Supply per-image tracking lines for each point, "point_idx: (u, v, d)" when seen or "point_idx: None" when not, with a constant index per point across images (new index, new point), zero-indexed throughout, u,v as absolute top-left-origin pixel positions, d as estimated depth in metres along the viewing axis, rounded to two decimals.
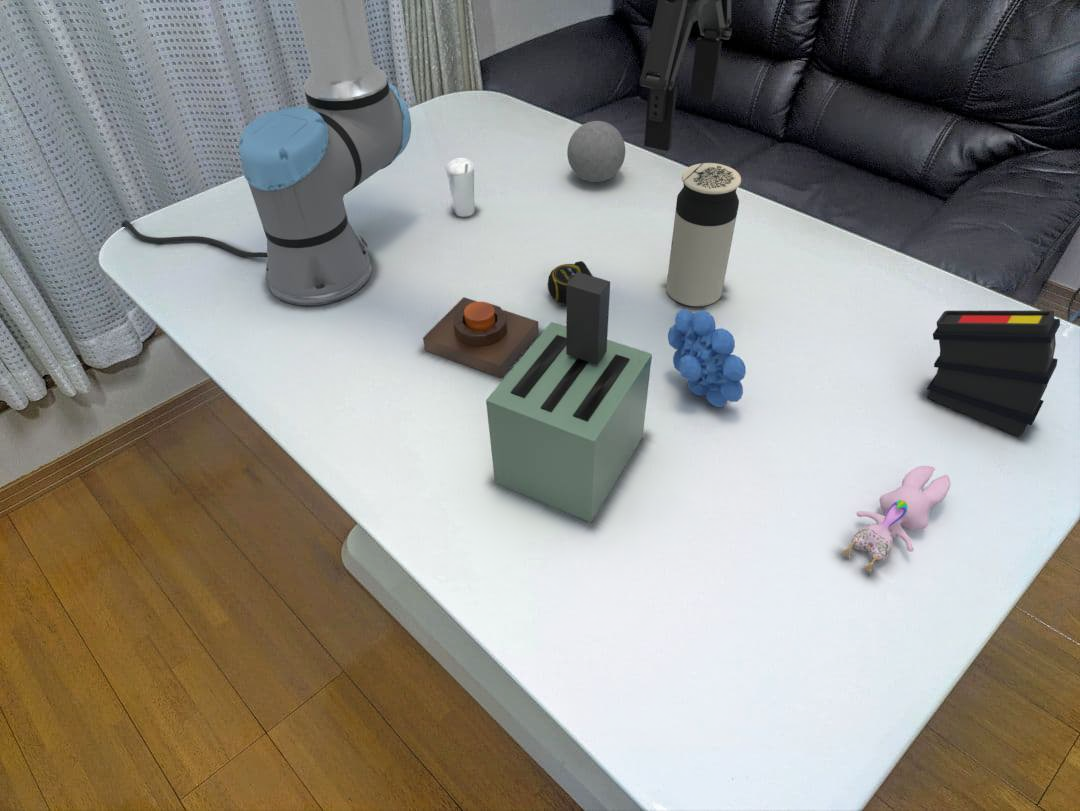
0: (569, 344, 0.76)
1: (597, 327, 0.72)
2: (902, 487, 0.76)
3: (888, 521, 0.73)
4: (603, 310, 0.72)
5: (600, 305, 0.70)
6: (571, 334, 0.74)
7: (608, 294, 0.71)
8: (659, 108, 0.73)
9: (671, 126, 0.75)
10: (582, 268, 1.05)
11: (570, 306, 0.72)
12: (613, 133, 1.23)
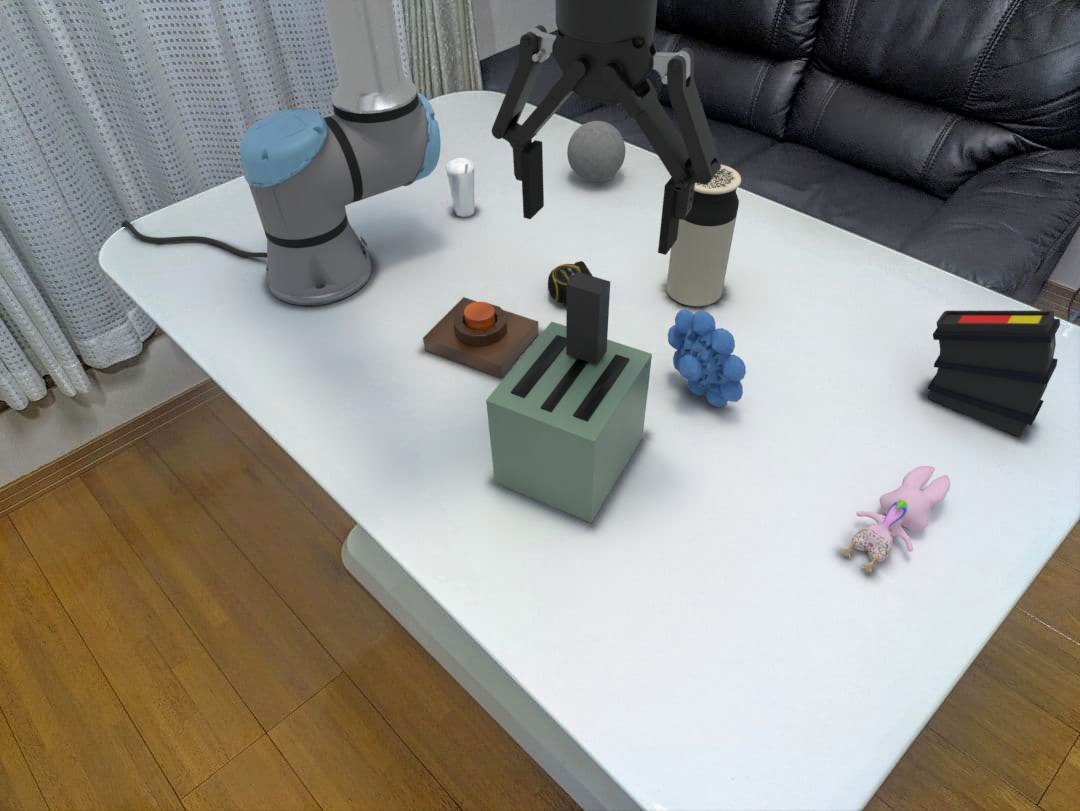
0: (569, 344, 0.76)
1: (597, 327, 0.72)
2: (902, 487, 0.76)
3: (888, 521, 0.73)
4: (603, 310, 0.72)
5: (600, 305, 0.70)
6: (571, 334, 0.74)
7: (608, 294, 0.71)
8: None
9: (524, 193, 0.68)
10: (582, 268, 1.05)
11: (570, 306, 0.72)
12: (613, 133, 1.23)
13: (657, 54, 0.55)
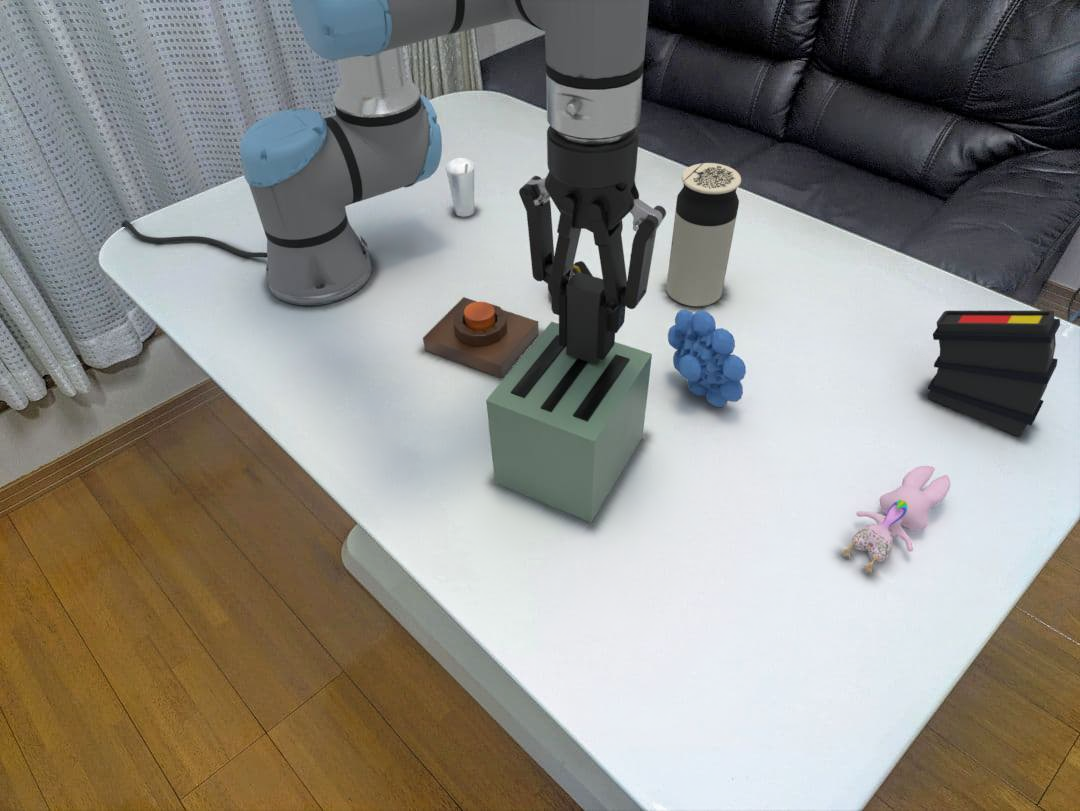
0: (569, 344, 0.76)
1: (597, 327, 0.72)
2: (902, 487, 0.76)
3: (888, 521, 0.73)
4: None
5: None
6: (571, 334, 0.74)
7: None
8: None
9: (561, 326, 0.74)
10: (582, 268, 1.05)
11: (570, 306, 0.72)
12: None
13: (638, 203, 0.62)
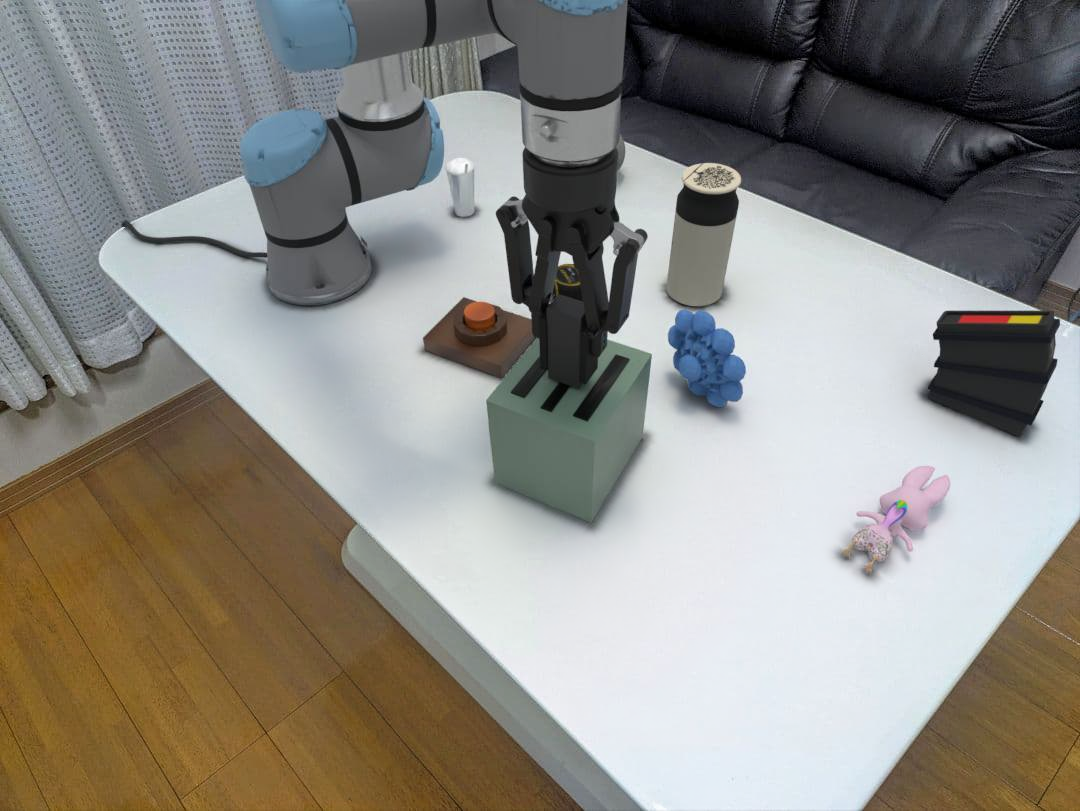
0: (551, 368, 0.73)
1: (579, 351, 0.70)
2: (902, 487, 0.76)
3: (888, 521, 0.73)
4: None
5: None
6: (552, 358, 0.72)
7: None
8: None
9: (542, 350, 0.72)
10: None
11: (551, 329, 0.70)
12: None
13: (619, 226, 0.60)
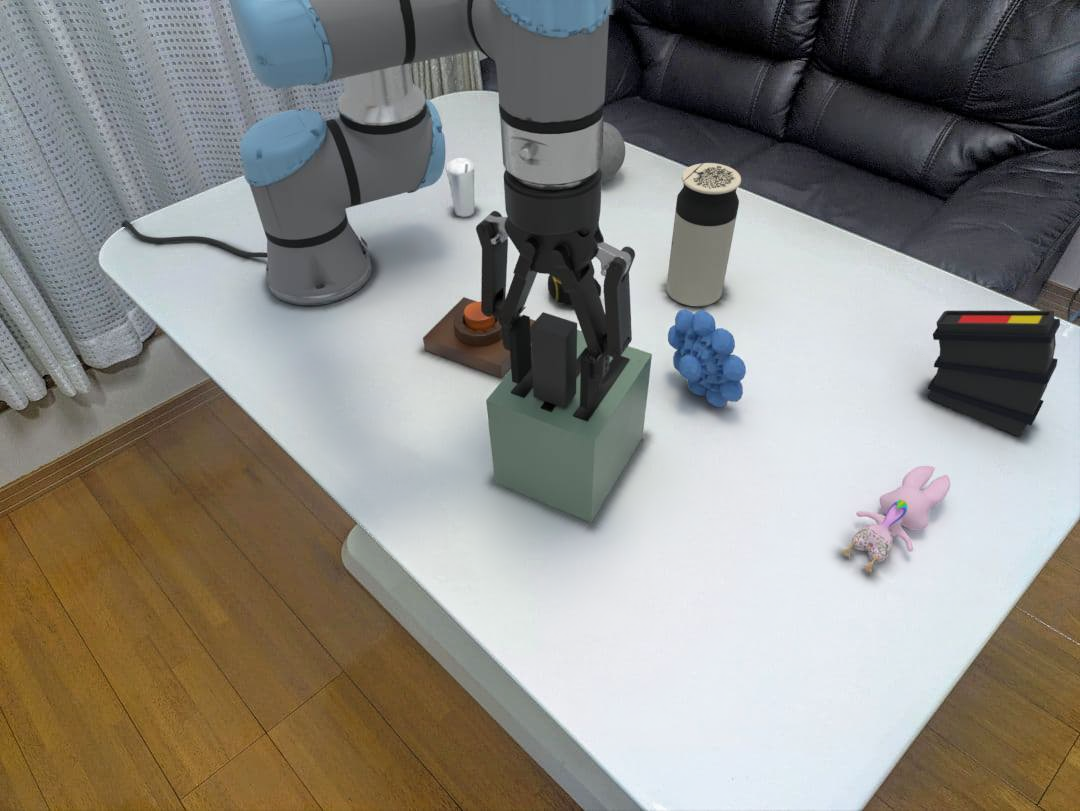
0: (536, 387, 0.71)
1: (564, 371, 0.68)
2: (902, 487, 0.76)
3: (888, 521, 0.73)
4: (570, 353, 0.67)
5: (566, 349, 0.66)
6: (537, 377, 0.70)
7: (575, 336, 0.67)
8: None
9: (513, 362, 0.71)
10: None
11: (535, 348, 0.68)
12: (613, 133, 1.23)
13: (603, 246, 0.58)
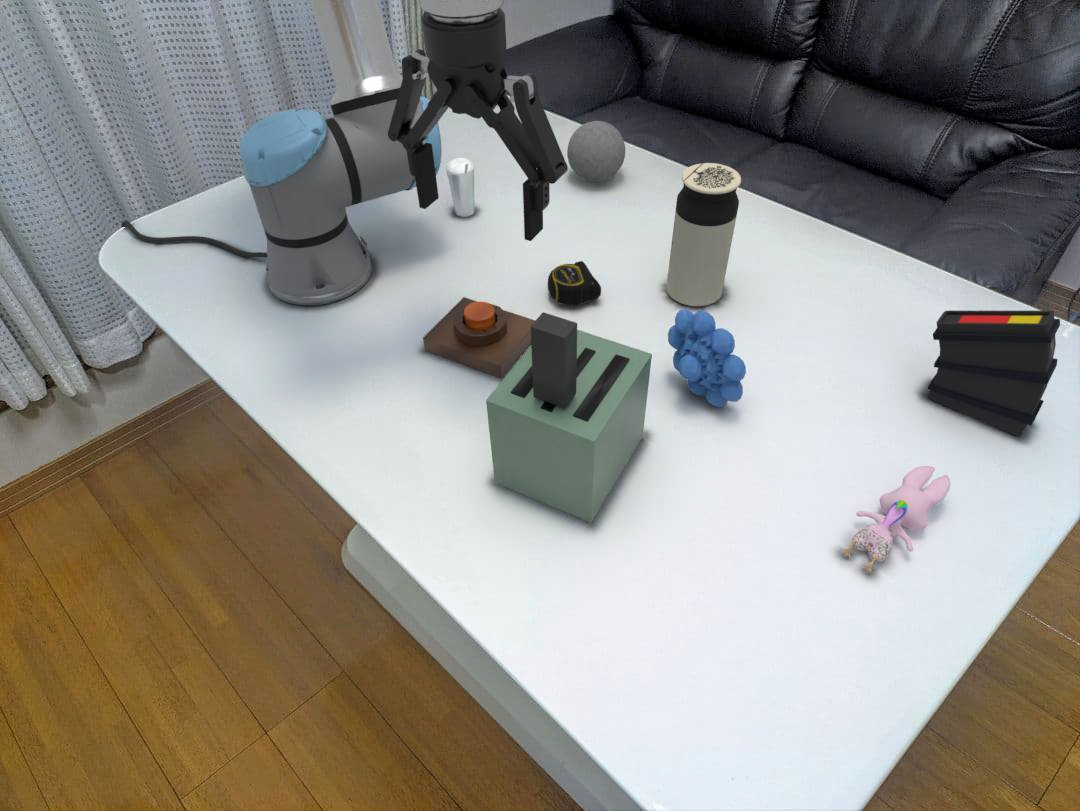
0: (536, 387, 0.71)
1: (564, 371, 0.68)
2: (902, 487, 0.76)
3: (888, 521, 0.73)
4: (570, 353, 0.67)
5: (566, 349, 0.66)
6: (537, 377, 0.70)
7: (575, 336, 0.67)
8: None
9: (418, 187, 0.80)
10: (582, 268, 1.04)
11: (535, 348, 0.68)
12: (613, 133, 1.23)
13: (507, 77, 0.68)
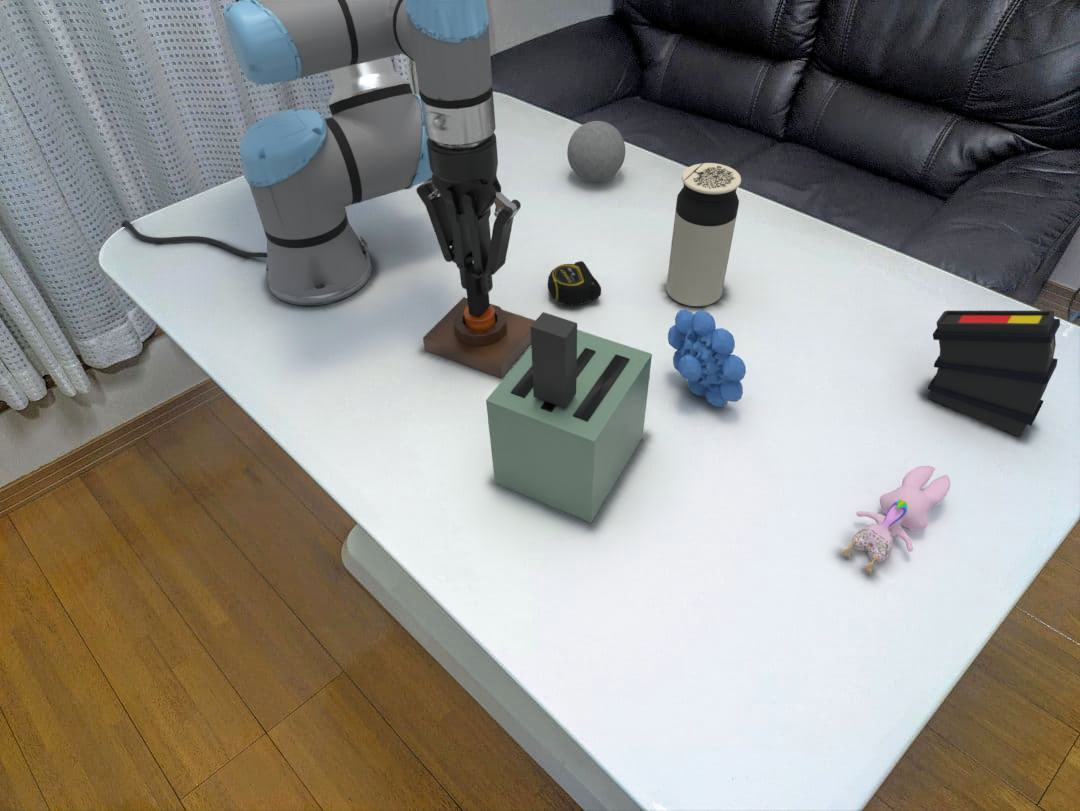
0: (536, 387, 0.71)
1: (564, 371, 0.68)
2: (902, 487, 0.76)
3: (888, 521, 0.73)
4: (570, 353, 0.67)
5: (566, 349, 0.66)
6: (537, 377, 0.70)
7: (575, 336, 0.67)
8: None
9: (469, 298, 0.93)
10: (582, 268, 1.05)
11: (535, 348, 0.68)
12: (613, 133, 1.23)
13: (500, 195, 0.81)
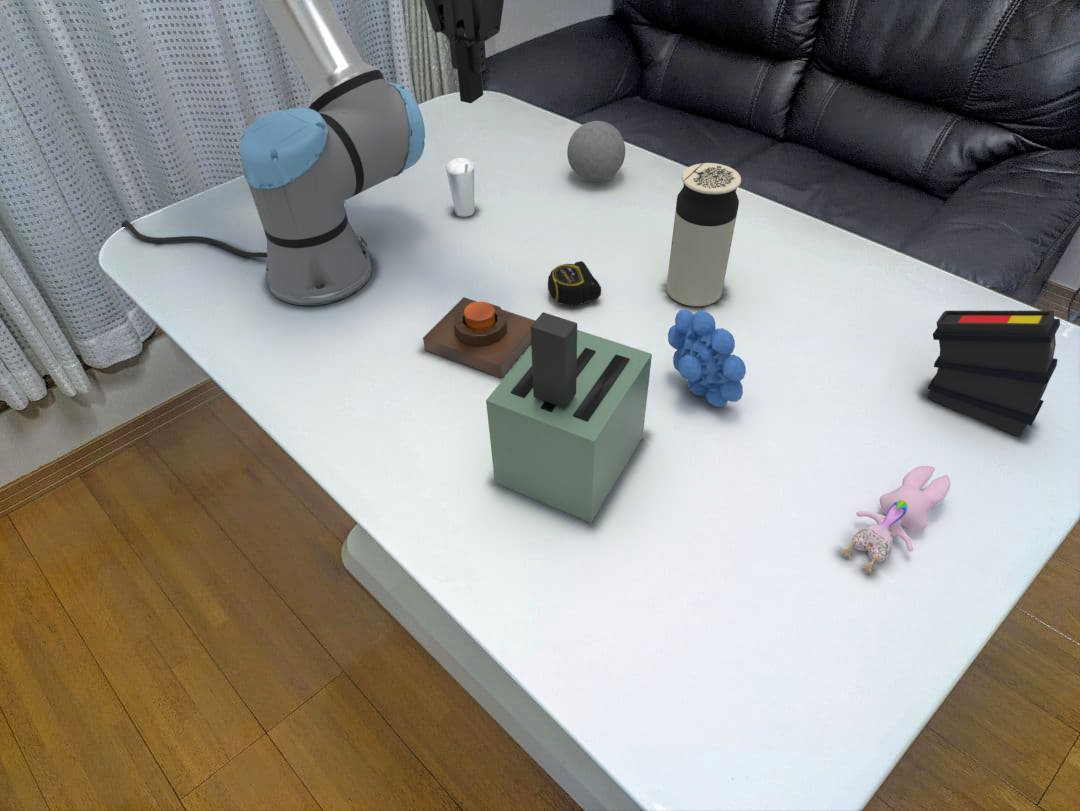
0: (536, 387, 0.71)
1: (564, 371, 0.68)
2: (902, 487, 0.76)
3: (888, 521, 0.73)
4: (570, 353, 0.67)
5: (566, 349, 0.66)
6: (537, 377, 0.70)
7: (575, 336, 0.67)
8: None
9: (460, 79, 0.84)
10: (582, 268, 1.05)
11: (535, 348, 0.68)
12: (613, 133, 1.23)
13: None
